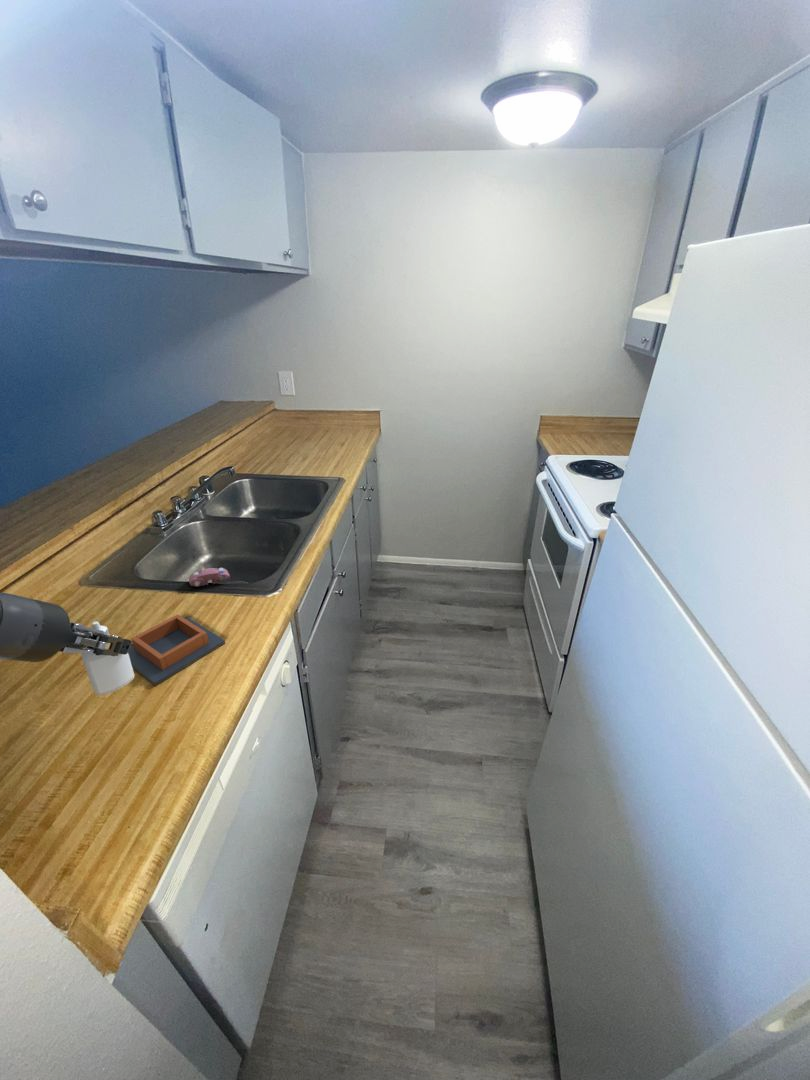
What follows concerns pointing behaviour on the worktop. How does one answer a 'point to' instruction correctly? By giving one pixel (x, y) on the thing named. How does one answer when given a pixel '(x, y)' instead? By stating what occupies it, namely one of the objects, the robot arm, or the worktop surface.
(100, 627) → the eye dropper bottle
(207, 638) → the socket pad
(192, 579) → the pink toy car
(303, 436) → the worktop surface
